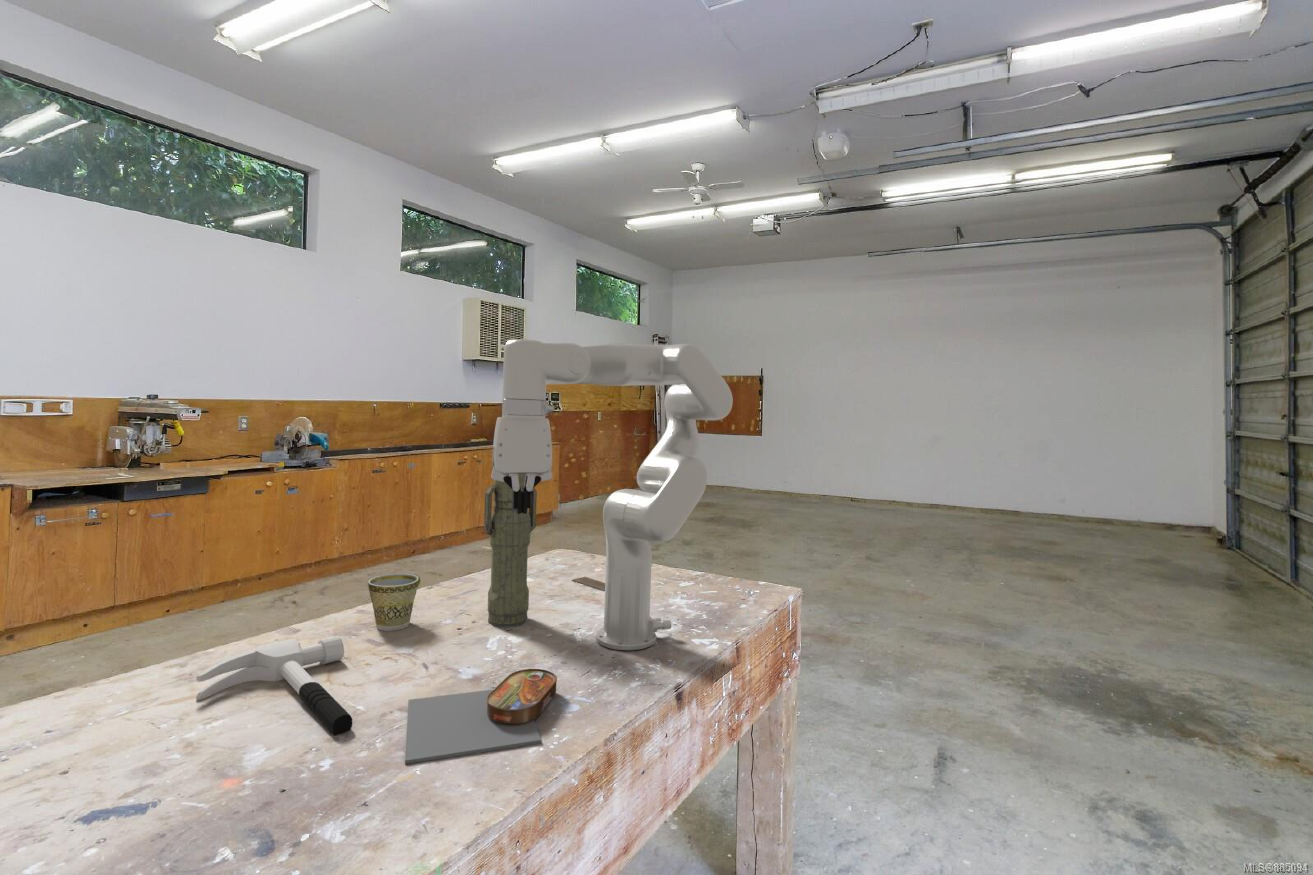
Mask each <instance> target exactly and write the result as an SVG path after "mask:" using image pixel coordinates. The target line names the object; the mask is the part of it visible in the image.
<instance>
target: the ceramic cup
mask: <svg viewBox="0 0 1313 875" xmlns="http://www.w3.org/2000/svg"><path fill="white" fill-rule="evenodd" d="M420 583H421V577H420V575H417V574H412V573H411V574H410V573H390V574H389V573H388V574H382V575H378V576H374V577H371V578H370V579H369V580H368V581H367V584H368V585H367V586H368V592H369V597H370V601H371V604H372V608H373V609H372V610H373V614H374V620H375V627H376V629H377V630H378V629H379V630H378V631H384V632H391V631H400V630H402V629H405V628H407V627H408V626H409V625H410V623H411V619H412V618H411V616H412V612H413V608H414V602H415V599H416V594H417V592H418V591H417V589H418V588H419V587H420ZM404 627H405V628H404Z"/></svg>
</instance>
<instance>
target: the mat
mask: <svg viewBox="0 0 1313 875" xmlns="http://www.w3.org/2000/svg"><path fill="white" fill-rule="evenodd" d="M493 690H494V689H486V690H479V691H471V692H463V693H453V694H446V695H437V696H436V695H435V696H429V697H428V696H427V697H420V698H419V697H418V698H411V699H408V704H407V705H408V706H407V717H406V718H407V720H406V722H407V723H406V739H405V756H404V758H405V759H404V764H405V765H407V764H415V763H422V762H428V761H433V760H434V761H435V760H440V759H441V760H442V759H446V758H447V759H448V758H454V757H460V756H466V755H468V756H469V755H473V754H480V753H485V752H487V753H488V752H493V751H499V750H500V751H501V750H505V749H512V748H520V747H527V746H531V745H532V746H533V745H538V744H542V738H541V737H540V733H539V730H538V727H537V725H536V722H535V719H534V720H532V721H529V722H527V723H523V724H507V723H500V722H494V721H492V720H491V719H490V718H489V717H488V714H487V697H488V695H489V694H490V693H491V692H492V691H493Z"/></svg>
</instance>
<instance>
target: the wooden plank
mask: <svg viewBox="0 0 1313 875" xmlns="http://www.w3.org/2000/svg"><path fill="white" fill-rule="evenodd" d="M571 580H572V581H571V582H574V583H576V582H577V584H579V583H580V584H579V585H583V586H586V587H588V588H592V589H595V590H599V591H602V592H604V591H605V582H603V581H599V580H596V579H593V578H591V577H588V576H582V577H577V578H574V579H571Z"/></svg>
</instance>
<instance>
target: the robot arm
mask: <svg viewBox="0 0 1313 875" xmlns="http://www.w3.org/2000/svg"><path fill="white" fill-rule="evenodd" d="M502 364H503V367H502V368H503V369H502V372H503V373H502V404H501V405H502V406H501V407H502V408H501V410H502V411H501V416H498V417H497V418H496V420H495V421H496V422H495V427H494V433H493V443H492V456H491V458H492V460H491V461H492V464H491V466H492V472H491V474H490V478H491V479H492V480H493V481H494V480H498V481H502V482H505V483H506V484H507V485H508V486H509V487H510V488H511V489H512V490H513V497H512V508H513V509H515V510H516V513H517V514H521V513H523V514H527V508H528V509H529V508H530V502H531V491H532V490H533V488H536V487H537V485H539V483H541V482H545V481H550V480H552V479H553V473H552V465H553V446H552V445H553V444H552V431H551V426H550V425H551V424H550V420H549V418H546V416H547V414H548V413H553V412H554V410H555V409H554V408H555V407H554V404H550V403H548V402H547V399H546V398H547V385H595V386H606V387H610V386H611V387H613V386H614V387H618V386H619V387H623V386H625V387H626V386H629V387H630V386H666V385H667V386H669V385H670V387H669V388H668V389H667V391H666V393H665V396H664V408H665V410H664V411H665V417H666V428H665V431H664V433H663V435H662V436H661V437H660V439H659V440H658V442H657V443H656V445H655V446H654V447H653V448H652V450H651V451H650V452H649V454H648V455H647V456H646V457H645V459H644V460H643V461H642V463H641V464H640V467H639V468H638V471H637V473H636V483H637V486H638V487H639V488H640V489H641V490H638V489H632V488H621V489H619V490H616V491H614V492H612V493H611V494H610V495H609V496H608V497H607V499H606V500H605V502H604V505H603V509H602V519H603V520H602V521H603V527H604V533H605V545H606V547H605V548H606V549H605V550H606V551H605V553H606V556H605V559H606V560H605V582H604V583H605V592H604V608H603V609H604V611H603V612H604V613H603V614H604V616H603V627H602V628H600V629H598V630H597V631H596V634H595V641H597V644H599V645H601V646H603V647H605V648H608V649H612V650H618V651H636V650H638V651H639V650H643V649H646V648H650V647H651V646H653V645H654V644H655V643H656V642H657V632H658V631H659V630H662V631H663V630H670V629H671V628H672V621H671V619H663V620H662V619H661V617H655V618H652V617H651V616H650V615H651V612H650V610H651V588H652V587H651V585H652V566H653V564H652V563H653V561H652V560H653V558H652V557H653V556H652V550H651V545H650V542H652V543H655V544H656V543H657V544H658V543H659V544H660V543H661V544H662V543H665V542H668V541H670V540H672V539H673V537H675V536H676V535H677V533H679V531H680V529H681V528H682V526H683V525H684V524H685V522H686V521H687V519H688V518H689V517H690V515H691V514H692V512H693V511H694V509H695V507H696V506H697V505H698V503H699V502H700V500H701V498H702V496H703V495H704V493H705V490H706V487H707V482H708V471H707V468H706V465H705V464H704V463H703V461H702V460H700V459H699V458H697V457H696V455H697V454H698V451H699V450H700V449H699V448H700V445H701V443H700V442H701V441H700V436H699V435H700V434H699V431H698V426H697V421H696V420H698V421H700V420H701V421H720V420H722V419H724V418H726V417H727V416H729V414H730V413H731V410H732V407H733V402H734V400H733V399H734V398H733V395H732V390H731V389H730V388H731V387H730V386H729V385H728V384H727V381H726V380H725V379H724V377H723V376H722V375H721V373H720V372H719V370H717V368H716V367H715V366H714V364H713V363H712V362H711V360H710V359H709V358H708V356H707V355H706V354H705V353H704V352H703V351H702V350H701V349H700V348H698V347H697V346H695V345H694V344H691V343H676V344H639V343H638V344H637V343H606V344H598V345H592V346H591V345H589V346H581V345H579V344H577V343H573V342H557V343H556V342H555V343H554V342H552V343H551V342H549V343H547V342H542V341H539V340H534V339H527V338H526V339H523V338H522V339H521V338H520V339H519V338H518V339H517V338H515V339H509V340H508V341H507V342H506V343H505V345H504V347H503V363H502ZM501 473H503V474H501ZM504 474H509V476H508V475H504ZM518 474H526V478H525V483H524V486H523V489H522V490H521V488H520V487H519V479H518Z"/></svg>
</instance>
